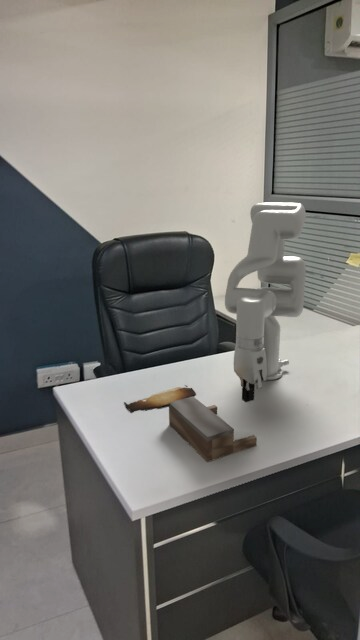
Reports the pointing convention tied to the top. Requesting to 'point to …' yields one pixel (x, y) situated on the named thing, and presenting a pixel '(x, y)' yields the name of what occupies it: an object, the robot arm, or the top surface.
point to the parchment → (161, 399)
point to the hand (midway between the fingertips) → (247, 399)
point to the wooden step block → (205, 429)
